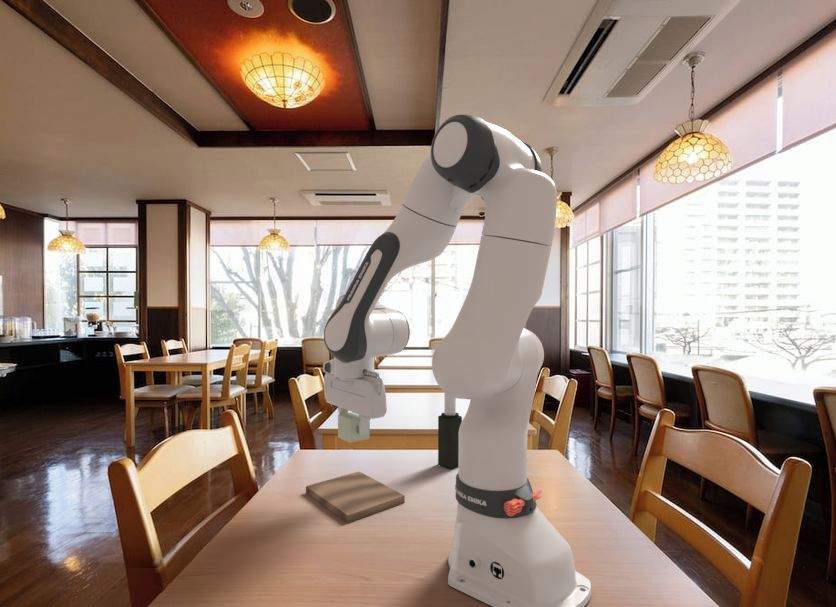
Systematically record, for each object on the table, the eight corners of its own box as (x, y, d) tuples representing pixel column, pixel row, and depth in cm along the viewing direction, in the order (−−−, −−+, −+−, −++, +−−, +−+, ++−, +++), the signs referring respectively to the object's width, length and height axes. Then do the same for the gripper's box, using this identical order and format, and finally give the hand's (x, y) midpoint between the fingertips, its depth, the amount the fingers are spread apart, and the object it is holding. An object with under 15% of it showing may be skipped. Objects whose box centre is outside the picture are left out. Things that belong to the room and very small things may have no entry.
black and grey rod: (450, 460, 123) (450, 367, 123) (463, 465, 119) (463, 370, 119) (436, 464, 120) (436, 369, 120) (449, 470, 116) (449, 372, 116)
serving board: (404, 502, 97) (404, 495, 97) (347, 523, 88) (347, 515, 88) (359, 477, 111) (359, 471, 111) (305, 492, 102) (305, 486, 102)
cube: (369, 438, 99) (369, 415, 99) (349, 442, 96) (350, 419, 96) (357, 433, 103) (357, 411, 103) (337, 437, 100) (338, 414, 100)
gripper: (394, 371, 93) (393, 439, 93) (343, 361, 109) (342, 418, 109) (368, 375, 89) (368, 445, 89) (319, 363, 105) (319, 423, 105)
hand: (353, 430), depth 99 cm, fingers closed on cube, 5 cm apart
